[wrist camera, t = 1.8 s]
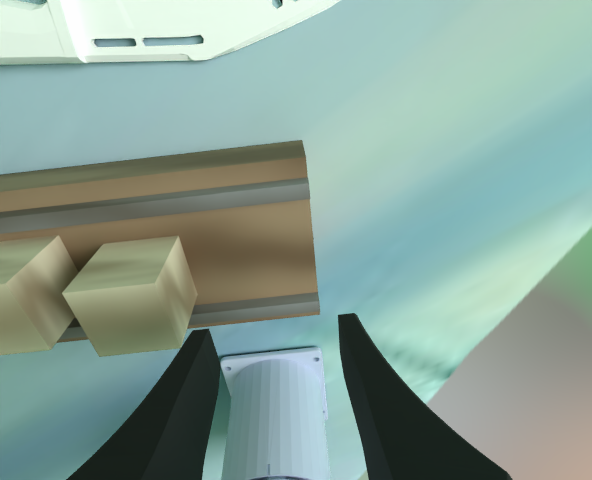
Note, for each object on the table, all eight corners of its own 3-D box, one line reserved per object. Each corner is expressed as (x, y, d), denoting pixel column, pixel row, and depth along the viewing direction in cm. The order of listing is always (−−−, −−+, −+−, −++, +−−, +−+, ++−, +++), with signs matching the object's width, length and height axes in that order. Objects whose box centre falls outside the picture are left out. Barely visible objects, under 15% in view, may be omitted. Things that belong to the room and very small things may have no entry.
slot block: (315, 284, 24) (321, 323, 21) (4, 317, 24) (-39, 362, 21) (302, 140, 19) (306, 162, 15) (-93, 185, 19) (-171, 216, 16)
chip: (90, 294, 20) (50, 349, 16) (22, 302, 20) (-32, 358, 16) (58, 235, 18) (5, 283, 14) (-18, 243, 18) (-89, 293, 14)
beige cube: (197, 294, 20) (180, 348, 17) (130, 301, 20) (99, 356, 17) (178, 235, 18) (154, 282, 14) (103, 243, 18) (61, 293, 15)
